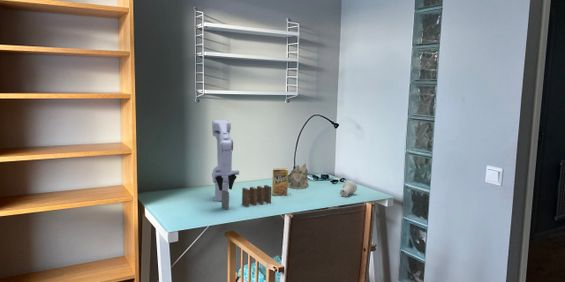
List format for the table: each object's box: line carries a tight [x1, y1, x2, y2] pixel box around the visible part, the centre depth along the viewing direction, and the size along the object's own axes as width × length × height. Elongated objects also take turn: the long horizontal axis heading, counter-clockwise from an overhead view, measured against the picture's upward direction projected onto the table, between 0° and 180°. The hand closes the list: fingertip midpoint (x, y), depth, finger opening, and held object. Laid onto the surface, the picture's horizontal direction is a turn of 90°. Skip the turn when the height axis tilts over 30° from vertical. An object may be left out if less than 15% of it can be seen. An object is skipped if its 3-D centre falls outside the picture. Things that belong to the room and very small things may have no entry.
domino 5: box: [263, 184, 272, 204], centre depth 230 cm, size 2×5×9 cm, turn 34°
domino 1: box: [221, 190, 230, 211], centre depth 216 cm, size 2×5×9 cm, turn 34°
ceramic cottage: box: [287, 163, 309, 190], centre depth 269 cm, size 16×16×15 cm
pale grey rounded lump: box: [339, 179, 358, 198], centre depth 251 cm, size 8×11×8 cm
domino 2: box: [241, 187, 250, 208], centre depth 223 cm, size 2×5×9 cm, turn 34°
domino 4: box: [256, 185, 265, 205], centre depth 228 cm, size 2×5×9 cm, turn 34°
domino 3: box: [249, 186, 258, 207], centre depth 225 cm, size 2×5×9 cm, turn 34°
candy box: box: [271, 167, 289, 196], centre depth 246 cm, size 9×4×15 cm, turn 92°
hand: (225, 189), depth 215 cm, fingers open, 5 cm apart
